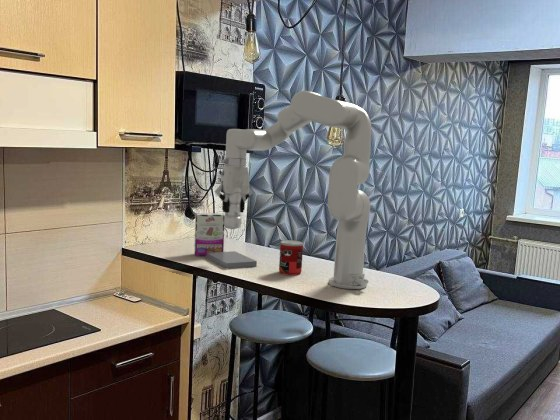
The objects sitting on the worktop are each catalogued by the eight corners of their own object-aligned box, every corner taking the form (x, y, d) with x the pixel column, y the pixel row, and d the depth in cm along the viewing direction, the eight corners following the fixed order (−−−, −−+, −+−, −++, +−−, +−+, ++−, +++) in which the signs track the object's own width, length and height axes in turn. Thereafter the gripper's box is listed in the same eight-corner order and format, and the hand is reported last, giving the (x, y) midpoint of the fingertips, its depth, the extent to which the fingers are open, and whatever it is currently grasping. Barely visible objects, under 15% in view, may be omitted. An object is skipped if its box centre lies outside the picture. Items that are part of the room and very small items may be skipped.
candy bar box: (221, 253, 217) (223, 213, 215) (223, 256, 213) (225, 214, 211) (193, 253, 215) (195, 212, 213) (194, 256, 210) (196, 214, 208)
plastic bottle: (219, 228, 202) (221, 174, 199) (234, 226, 206) (236, 174, 204) (230, 230, 197) (232, 175, 195) (244, 229, 202) (247, 175, 199)
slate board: (256, 266, 199) (256, 261, 199) (226, 268, 193) (226, 263, 192) (234, 256, 214) (234, 251, 214) (206, 258, 208) (206, 252, 208)
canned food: (275, 270, 194) (277, 240, 193) (296, 269, 197) (298, 240, 196) (283, 275, 187) (284, 244, 186) (304, 275, 190) (306, 244, 189)
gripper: (218, 163, 191) (216, 214, 193) (261, 164, 200) (258, 213, 202) (209, 161, 197) (207, 211, 200) (251, 163, 206) (249, 210, 209)
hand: (233, 211), depth 201 cm, fingers closed on plastic bottle, 5 cm apart
